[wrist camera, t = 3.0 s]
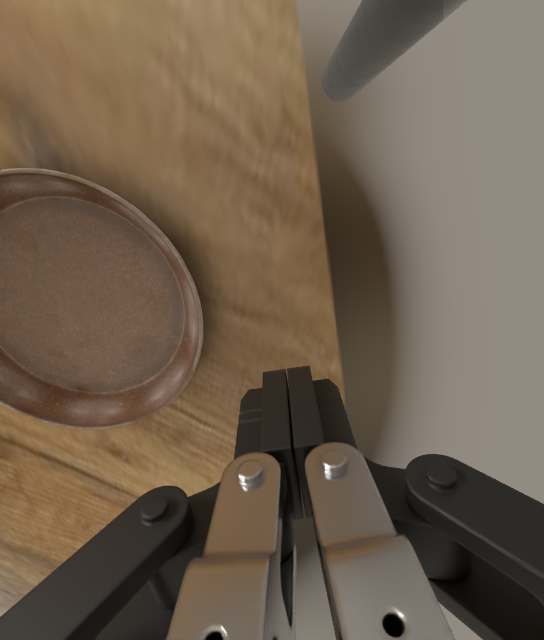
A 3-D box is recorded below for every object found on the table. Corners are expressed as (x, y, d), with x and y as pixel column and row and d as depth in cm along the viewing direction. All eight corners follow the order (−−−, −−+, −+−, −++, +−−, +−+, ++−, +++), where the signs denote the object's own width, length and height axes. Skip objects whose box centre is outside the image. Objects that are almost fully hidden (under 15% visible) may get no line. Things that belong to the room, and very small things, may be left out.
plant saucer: (119, 442, 30) (104, 470, 28) (-91, 308, 26) (-136, 326, 23) (261, 298, 25) (260, 314, 22) (32, 97, 20) (-6, 86, 18)
